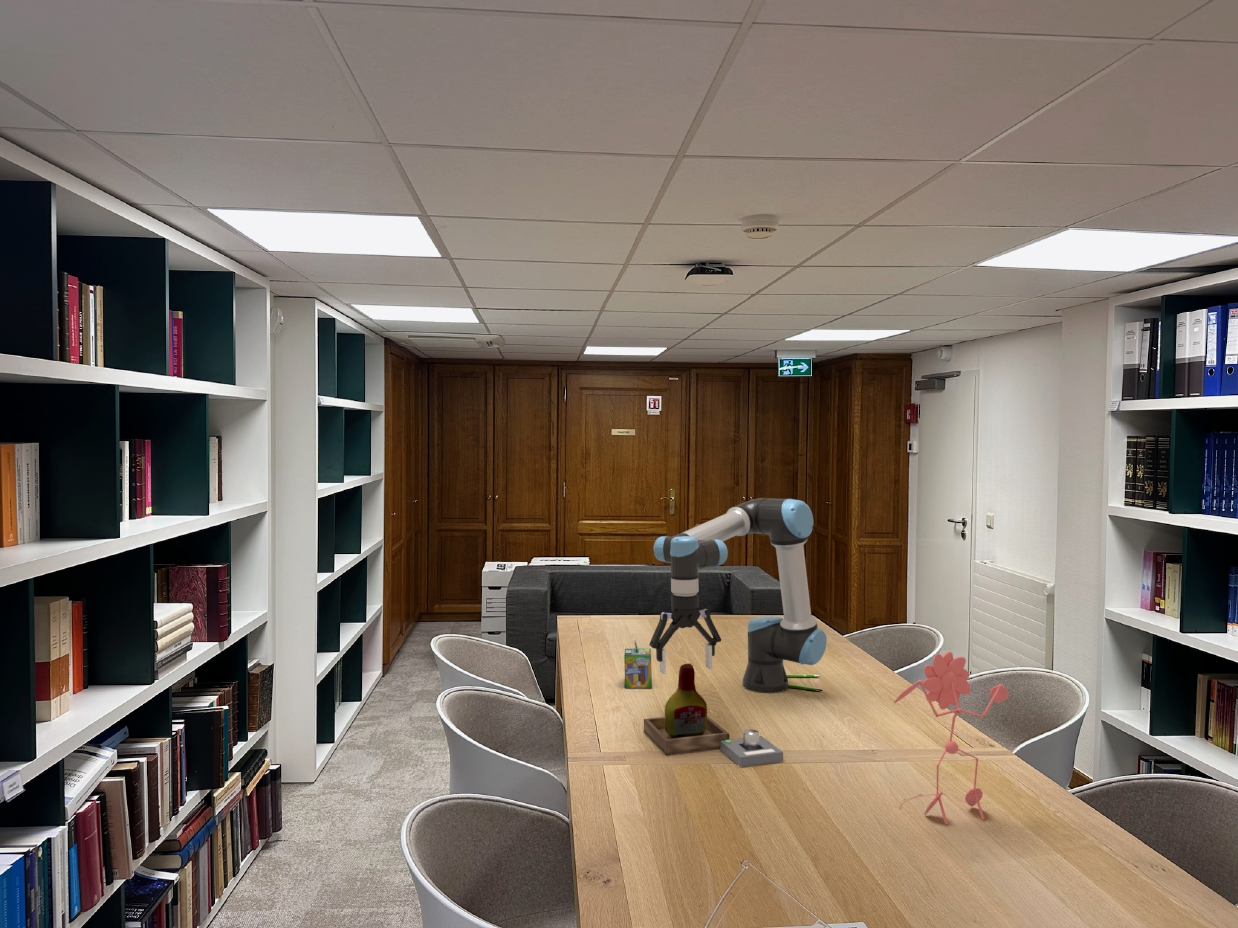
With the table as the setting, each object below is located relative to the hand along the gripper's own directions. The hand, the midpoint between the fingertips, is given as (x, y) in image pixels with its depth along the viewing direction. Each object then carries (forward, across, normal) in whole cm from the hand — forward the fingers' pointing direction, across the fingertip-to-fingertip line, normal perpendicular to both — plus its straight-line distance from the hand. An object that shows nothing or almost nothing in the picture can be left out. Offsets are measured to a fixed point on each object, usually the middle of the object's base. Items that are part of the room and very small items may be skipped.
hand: (686, 670), depth 222 cm
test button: (+17, -11, +16) cm, 26 cm away
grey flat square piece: (+19, -11, +16) cm, 28 cm away
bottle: (+18, 0, 0) cm, 19 cm away
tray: (+19, +1, 0) cm, 19 cm away
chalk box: (+20, -3, -53) cm, 56 cm away
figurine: (+19, -38, +57) cm, 72 cm away
